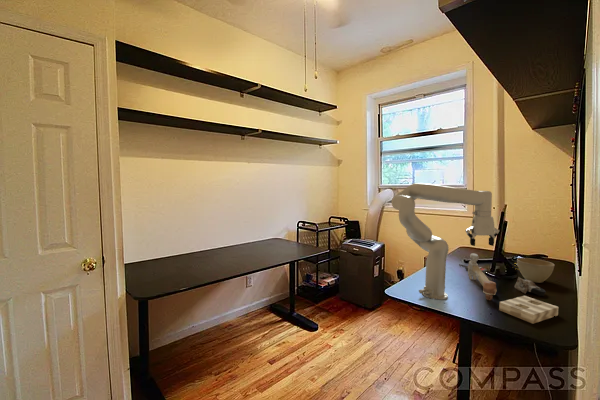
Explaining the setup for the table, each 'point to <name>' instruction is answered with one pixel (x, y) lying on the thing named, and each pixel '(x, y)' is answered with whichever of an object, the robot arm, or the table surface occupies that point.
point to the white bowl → (535, 269)
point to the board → (528, 309)
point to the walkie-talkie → (480, 268)
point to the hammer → (476, 270)
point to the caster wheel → (529, 287)
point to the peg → (489, 289)
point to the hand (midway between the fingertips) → (481, 245)
